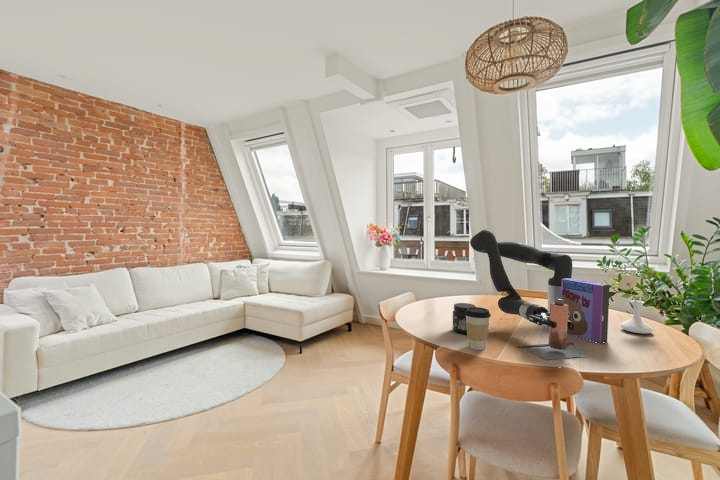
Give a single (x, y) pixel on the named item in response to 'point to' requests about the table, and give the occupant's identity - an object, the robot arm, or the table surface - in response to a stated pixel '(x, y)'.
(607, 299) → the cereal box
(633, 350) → the table surface
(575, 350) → the felt mat
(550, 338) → the water bottle
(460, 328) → the supplement container
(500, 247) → the robot arm
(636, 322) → the flower in vase
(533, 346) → the tape line
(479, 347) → the coffee cup
